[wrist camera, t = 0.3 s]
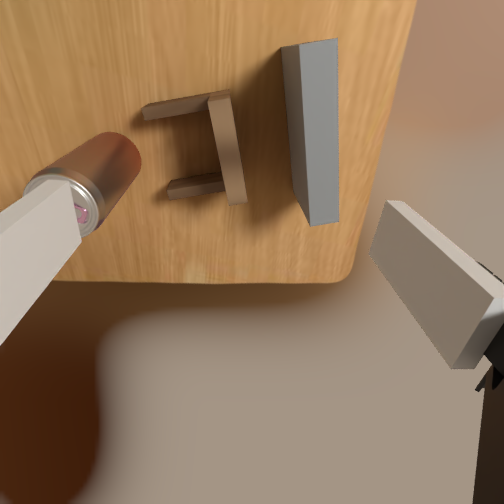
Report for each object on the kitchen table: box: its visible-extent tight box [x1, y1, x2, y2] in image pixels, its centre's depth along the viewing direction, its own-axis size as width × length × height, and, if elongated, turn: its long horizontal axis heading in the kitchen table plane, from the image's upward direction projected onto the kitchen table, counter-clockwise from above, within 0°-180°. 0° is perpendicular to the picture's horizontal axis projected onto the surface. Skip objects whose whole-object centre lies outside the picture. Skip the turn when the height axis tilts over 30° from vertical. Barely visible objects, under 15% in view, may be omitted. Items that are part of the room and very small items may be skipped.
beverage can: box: [23, 132, 141, 238], centre depth 32 cm, size 6×6×15 cm
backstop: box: [281, 38, 339, 227], centre depth 33 cm, size 16×3×10 cm, turn 9°
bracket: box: [141, 90, 248, 206], centre depth 34 cm, size 10×9×8 cm
